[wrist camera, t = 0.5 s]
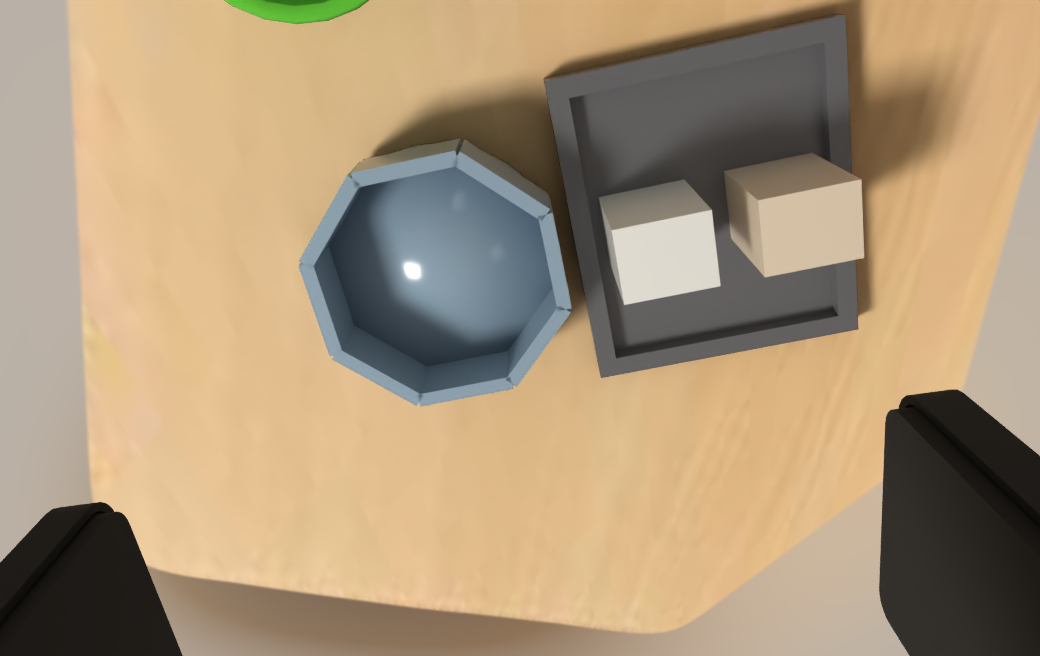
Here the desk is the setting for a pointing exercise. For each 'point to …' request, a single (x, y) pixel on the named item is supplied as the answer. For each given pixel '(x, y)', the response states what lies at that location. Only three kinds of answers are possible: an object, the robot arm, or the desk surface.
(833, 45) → the tray
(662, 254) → the white block
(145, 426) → the desk surface
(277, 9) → the cup
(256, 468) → the desk surface
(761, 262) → the beige rectangular block
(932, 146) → the desk surface
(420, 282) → the bowl
